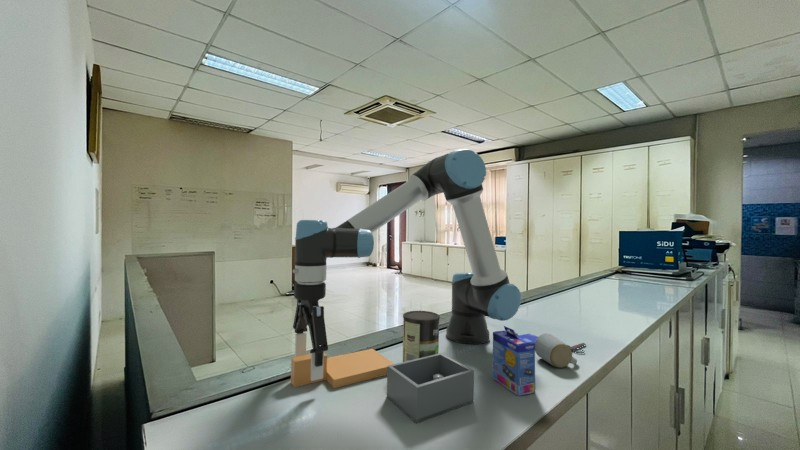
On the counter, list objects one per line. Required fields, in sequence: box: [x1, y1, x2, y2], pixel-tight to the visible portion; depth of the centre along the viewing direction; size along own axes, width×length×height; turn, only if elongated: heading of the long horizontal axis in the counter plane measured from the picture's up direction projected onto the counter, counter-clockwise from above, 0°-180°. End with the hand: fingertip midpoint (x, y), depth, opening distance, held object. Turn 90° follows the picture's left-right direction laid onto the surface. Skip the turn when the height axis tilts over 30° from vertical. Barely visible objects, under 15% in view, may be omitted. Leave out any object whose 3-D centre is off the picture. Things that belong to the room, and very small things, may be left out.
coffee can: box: [402, 310, 440, 362], centre depth 91 cm, size 10×10×14 cm
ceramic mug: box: [535, 332, 578, 369], centre depth 95 cm, size 11×8×8 cm
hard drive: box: [520, 333, 539, 342], centre depth 113 cm, size 2×8×12 cm
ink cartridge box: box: [492, 325, 536, 397], centre depth 81 cm, size 10×6×14 cm, turn 21°
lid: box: [290, 348, 395, 389], centre depth 85 cm, size 25×13×6 cm, turn 123°
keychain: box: [566, 342, 587, 354], centre depth 107 cm, size 8×18×2 cm, turn 124°
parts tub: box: [386, 352, 475, 424], centre depth 73 cm, size 16×12×7 cm
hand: (308, 368), depth 80 cm, fingers open, 13 cm apart
